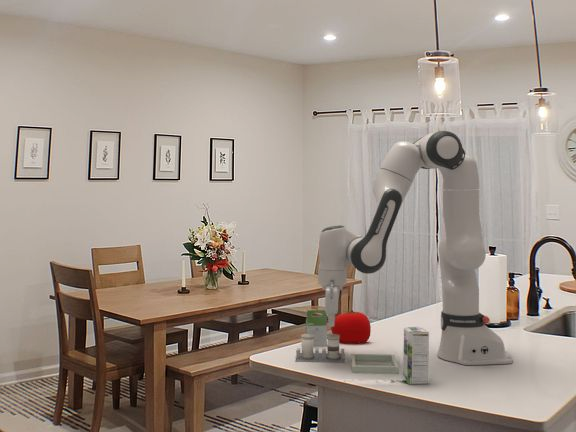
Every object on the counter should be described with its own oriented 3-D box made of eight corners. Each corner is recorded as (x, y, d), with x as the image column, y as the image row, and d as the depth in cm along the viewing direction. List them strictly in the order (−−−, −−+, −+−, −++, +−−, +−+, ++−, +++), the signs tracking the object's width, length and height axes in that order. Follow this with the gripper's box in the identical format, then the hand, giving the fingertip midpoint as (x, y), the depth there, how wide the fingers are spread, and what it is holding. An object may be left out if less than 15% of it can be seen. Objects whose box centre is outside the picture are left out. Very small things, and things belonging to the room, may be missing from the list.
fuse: (339, 356, 178) (339, 333, 178) (339, 359, 175) (339, 337, 174) (327, 355, 179) (327, 333, 179) (326, 359, 175) (326, 336, 175)
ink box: (326, 346, 194) (325, 307, 194) (327, 350, 190) (327, 310, 190) (305, 347, 194) (305, 308, 194) (306, 350, 190) (306, 310, 190)
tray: (394, 364, 173) (394, 354, 173) (398, 377, 161) (398, 367, 160) (351, 363, 175) (351, 353, 175) (351, 376, 162) (351, 366, 162)
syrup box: (402, 378, 160) (402, 326, 160) (423, 377, 161) (423, 326, 160) (408, 384, 155) (408, 331, 154) (429, 384, 155) (429, 331, 154)
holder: (344, 357, 181) (344, 331, 181) (344, 366, 171) (344, 339, 171) (297, 356, 183) (297, 331, 183) (295, 365, 173) (294, 338, 173)
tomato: (360, 350, 189) (360, 316, 189) (325, 344, 197) (325, 311, 197) (378, 343, 199) (377, 310, 199) (343, 337, 207) (343, 306, 207)
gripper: (342, 283, 165) (341, 331, 166) (342, 274, 186) (342, 316, 186) (320, 283, 166) (320, 330, 166) (323, 273, 186) (322, 315, 187)
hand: (331, 322), depth 176 cm, fingers open, 8 cm apart
